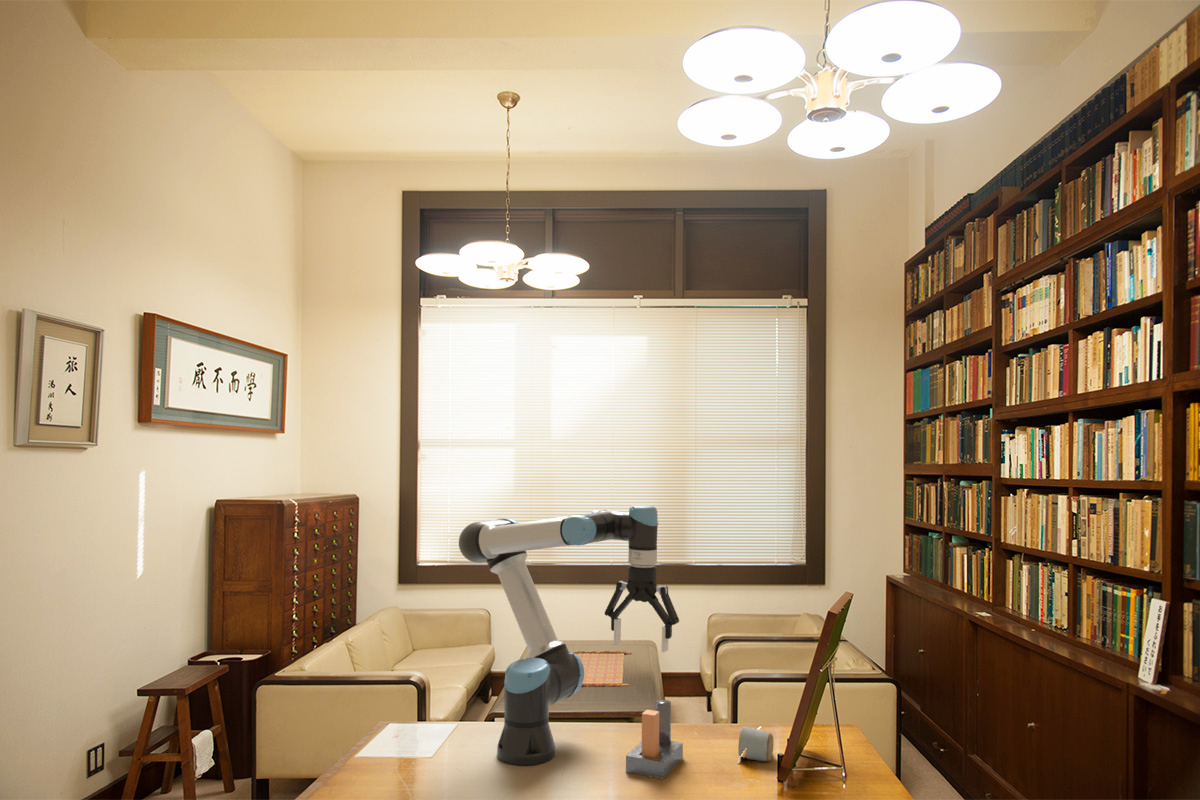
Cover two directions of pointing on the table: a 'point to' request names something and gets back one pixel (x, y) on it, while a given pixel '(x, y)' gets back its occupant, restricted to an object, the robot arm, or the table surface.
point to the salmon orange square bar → (650, 733)
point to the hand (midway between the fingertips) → (640, 647)
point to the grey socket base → (667, 749)
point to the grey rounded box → (756, 744)
